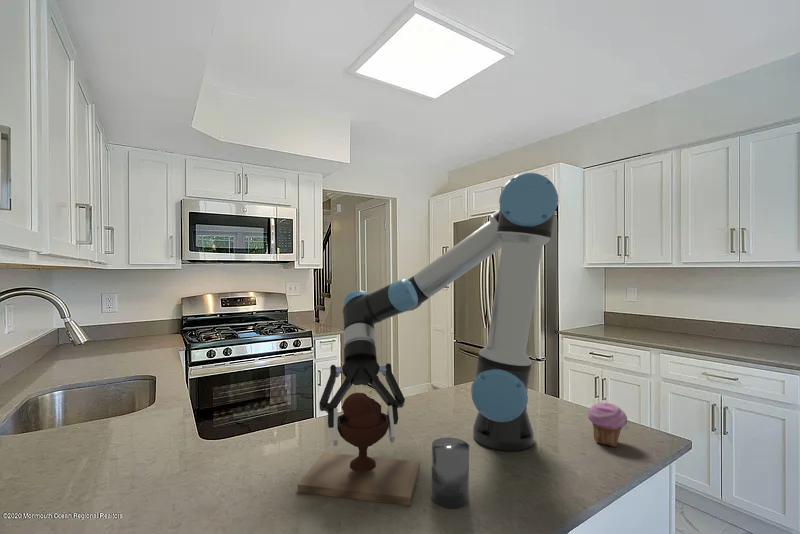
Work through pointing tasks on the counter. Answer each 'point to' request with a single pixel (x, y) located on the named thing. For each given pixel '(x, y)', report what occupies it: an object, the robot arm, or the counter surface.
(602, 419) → the cupcake
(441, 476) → the metal tin
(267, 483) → the counter surface
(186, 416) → the counter surface
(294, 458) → the counter surface
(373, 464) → the ice cream bowl
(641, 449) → the counter surface
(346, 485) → the walnut board
